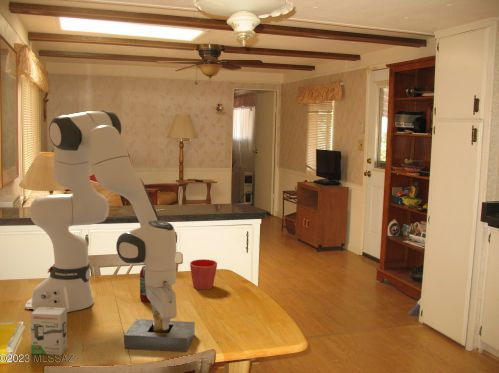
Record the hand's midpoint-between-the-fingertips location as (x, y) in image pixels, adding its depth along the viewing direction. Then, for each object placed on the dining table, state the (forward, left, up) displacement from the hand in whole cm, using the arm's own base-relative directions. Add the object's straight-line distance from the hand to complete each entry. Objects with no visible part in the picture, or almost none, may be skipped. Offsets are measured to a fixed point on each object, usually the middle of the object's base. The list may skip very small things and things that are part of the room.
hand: (160, 322), depth 149 cm
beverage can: (-13, +35, -6) cm, 38 cm away
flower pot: (+4, +52, -6) cm, 52 cm away
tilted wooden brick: (0, 0, -6) cm, 6 cm away
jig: (0, 0, -6) cm, 6 cm away
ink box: (-29, -10, -6) cm, 31 cm away
